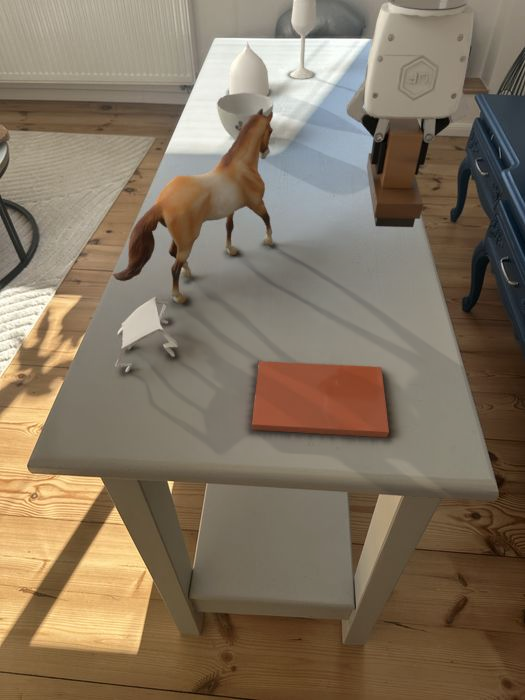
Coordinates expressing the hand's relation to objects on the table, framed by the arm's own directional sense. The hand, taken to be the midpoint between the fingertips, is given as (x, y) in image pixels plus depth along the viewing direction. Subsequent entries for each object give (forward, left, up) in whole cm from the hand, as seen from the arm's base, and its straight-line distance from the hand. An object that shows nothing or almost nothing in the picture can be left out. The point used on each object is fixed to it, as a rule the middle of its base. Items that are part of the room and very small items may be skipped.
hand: (395, 168), depth 60 cm
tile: (+17, +15, -20) cm, 31 cm away
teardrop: (-14, -84, -20) cm, 88 cm away
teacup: (-3, -59, -20) cm, 63 cm away
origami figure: (+34, -3, -20) cm, 40 cm away
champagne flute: (-33, -90, -20) cm, 98 cm away
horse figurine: (+22, -17, -20) cm, 34 cm away
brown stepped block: (0, 0, -5) cm, 5 cm away
